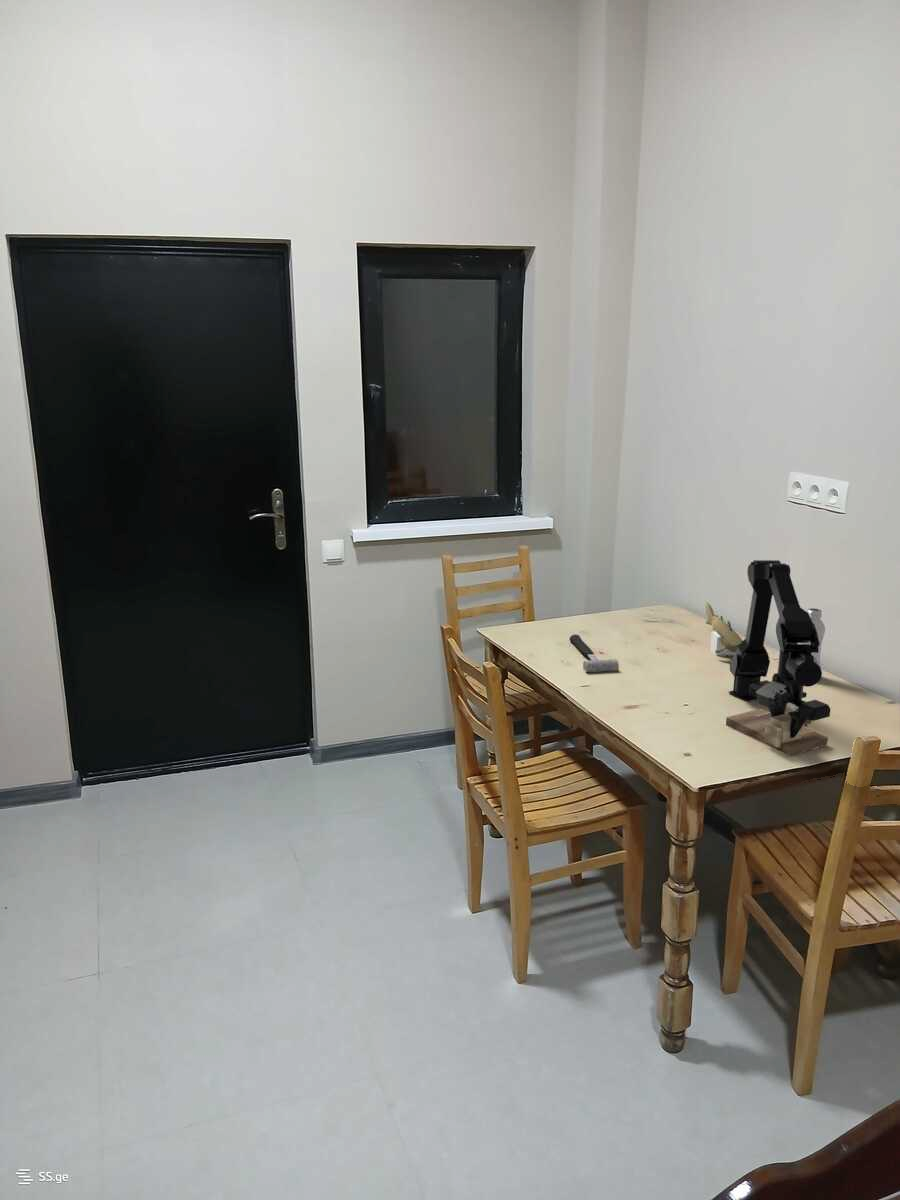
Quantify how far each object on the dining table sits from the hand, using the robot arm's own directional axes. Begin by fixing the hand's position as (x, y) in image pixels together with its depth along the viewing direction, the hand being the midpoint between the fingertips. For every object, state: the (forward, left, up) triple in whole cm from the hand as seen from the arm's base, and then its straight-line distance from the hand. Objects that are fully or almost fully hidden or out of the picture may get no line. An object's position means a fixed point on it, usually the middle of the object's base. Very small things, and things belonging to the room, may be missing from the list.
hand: (785, 734), depth 194 cm
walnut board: (-6, +3, -3) cm, 7 cm away
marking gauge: (0, +2, -2) cm, 2 cm away
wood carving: (-60, +38, -3) cm, 71 cm away
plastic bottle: (-30, +42, -3) cm, 51 cm away
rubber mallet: (-75, -2, -4) cm, 75 cm away
